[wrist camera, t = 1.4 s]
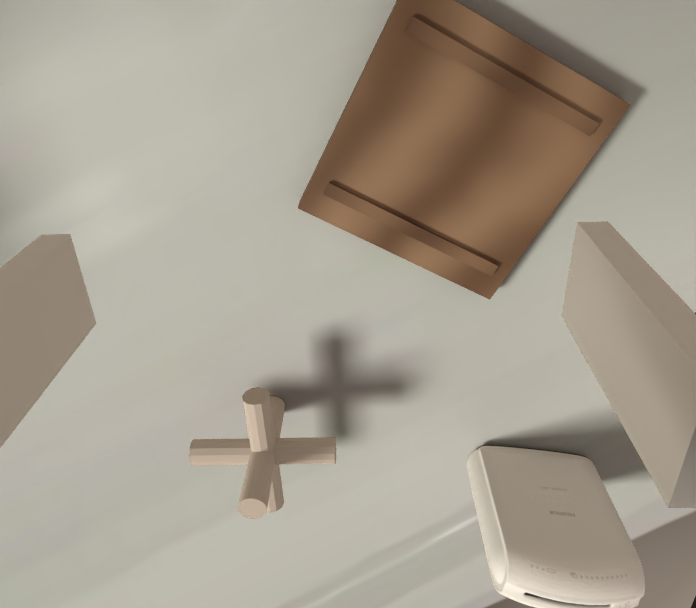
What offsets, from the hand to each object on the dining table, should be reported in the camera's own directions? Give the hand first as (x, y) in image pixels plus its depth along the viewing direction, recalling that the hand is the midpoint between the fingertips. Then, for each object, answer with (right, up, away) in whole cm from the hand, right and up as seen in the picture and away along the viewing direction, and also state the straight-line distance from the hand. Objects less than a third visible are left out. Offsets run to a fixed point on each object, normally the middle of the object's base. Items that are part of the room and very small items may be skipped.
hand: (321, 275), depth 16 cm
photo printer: (+15, -14, +33) cm, 39 cm away
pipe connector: (-5, -9, +30) cm, 32 cm away
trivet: (+7, +8, +20) cm, 23 cm away
